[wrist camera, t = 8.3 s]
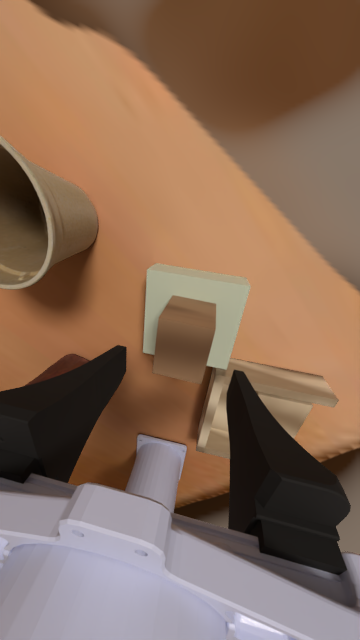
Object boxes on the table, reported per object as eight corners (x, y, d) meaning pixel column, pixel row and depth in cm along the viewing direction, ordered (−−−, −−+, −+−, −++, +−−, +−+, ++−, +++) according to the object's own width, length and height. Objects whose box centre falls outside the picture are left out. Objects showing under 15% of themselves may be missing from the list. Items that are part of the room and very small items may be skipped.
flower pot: (96, 146, 17) (-2, 84, 10) (127, 259, 21) (75, 280, 13) (9, 173, 19) (-128, 142, 12) (51, 272, 23) (-32, 297, 15)
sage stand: (225, 353, 24) (226, 369, 21) (151, 338, 25) (142, 352, 22) (246, 277, 20) (250, 286, 17) (156, 263, 21) (147, 269, 18)
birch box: (282, 446, 29) (290, 473, 26) (198, 426, 30) (196, 450, 27) (322, 376, 23) (338, 400, 20) (216, 355, 24) (215, 374, 21)
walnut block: (205, 349, 21) (201, 384, 16) (166, 340, 21) (152, 373, 16) (216, 303, 18) (215, 329, 14) (172, 294, 19) (158, 317, 14)
